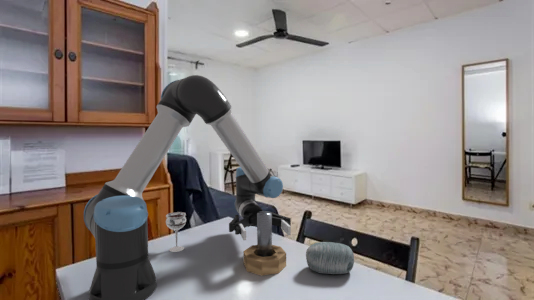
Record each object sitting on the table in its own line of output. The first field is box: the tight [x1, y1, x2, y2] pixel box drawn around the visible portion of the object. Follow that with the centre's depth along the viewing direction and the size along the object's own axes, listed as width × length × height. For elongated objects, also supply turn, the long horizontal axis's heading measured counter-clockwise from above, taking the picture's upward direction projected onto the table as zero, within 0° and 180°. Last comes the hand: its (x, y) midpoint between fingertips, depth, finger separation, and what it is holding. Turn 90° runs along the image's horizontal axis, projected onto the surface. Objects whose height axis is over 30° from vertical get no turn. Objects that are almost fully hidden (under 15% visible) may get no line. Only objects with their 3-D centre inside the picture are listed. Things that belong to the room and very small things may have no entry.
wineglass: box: [165, 211, 187, 253], centre depth 98 cm, size 7×7×12 cm
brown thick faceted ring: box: [243, 244, 287, 277], centre depth 86 cm, size 12×12×4 cm
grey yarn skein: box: [305, 241, 355, 275], centre depth 82 cm, size 14×10×10 cm
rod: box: [256, 210, 273, 257], centre depth 86 cm, size 4×4×16 cm
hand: (267, 233), depth 82 cm, fingers open, 13 cm apart
